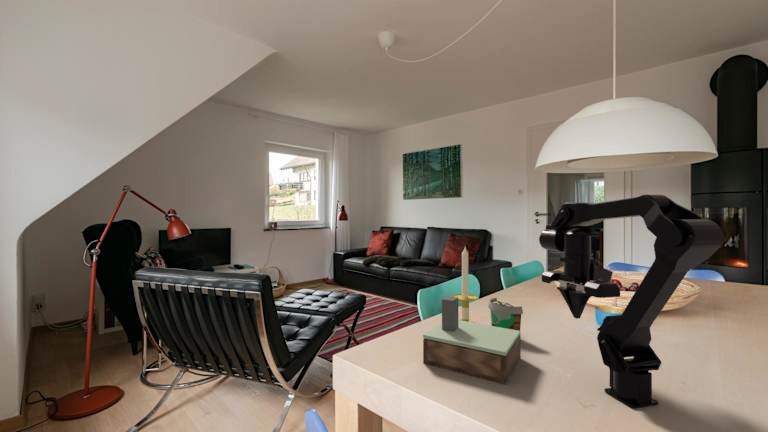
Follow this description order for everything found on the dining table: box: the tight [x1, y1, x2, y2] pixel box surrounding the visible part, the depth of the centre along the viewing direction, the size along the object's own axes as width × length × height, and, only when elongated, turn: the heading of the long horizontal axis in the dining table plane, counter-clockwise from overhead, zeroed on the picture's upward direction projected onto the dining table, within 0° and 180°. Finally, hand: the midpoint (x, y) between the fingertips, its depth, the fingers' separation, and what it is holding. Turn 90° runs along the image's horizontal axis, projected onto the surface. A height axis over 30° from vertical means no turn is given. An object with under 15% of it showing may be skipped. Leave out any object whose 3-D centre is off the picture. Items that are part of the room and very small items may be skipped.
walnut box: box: [422, 334, 522, 385], centre depth 86 cm, size 20×16×6 cm
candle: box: [451, 246, 479, 323], centre depth 112 cm, size 10×10×27 cm
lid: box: [422, 295, 521, 356], centre depth 86 cm, size 20×16×9 cm
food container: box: [487, 297, 524, 332], centre depth 104 cm, size 12×6×10 cm, turn 21°
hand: (577, 318), depth 82 cm, fingers closed
